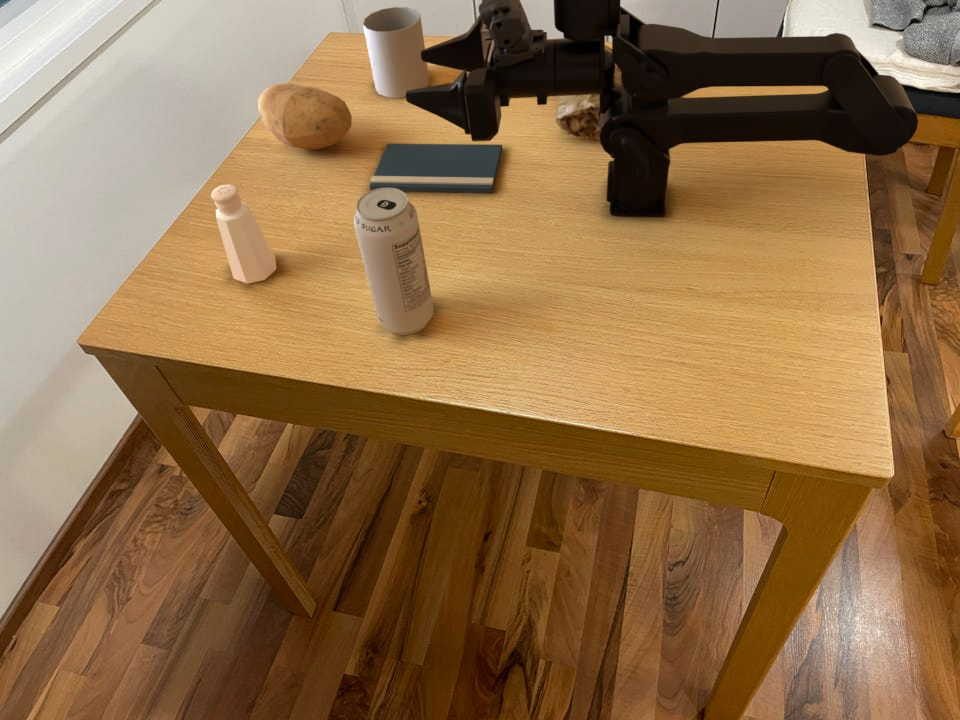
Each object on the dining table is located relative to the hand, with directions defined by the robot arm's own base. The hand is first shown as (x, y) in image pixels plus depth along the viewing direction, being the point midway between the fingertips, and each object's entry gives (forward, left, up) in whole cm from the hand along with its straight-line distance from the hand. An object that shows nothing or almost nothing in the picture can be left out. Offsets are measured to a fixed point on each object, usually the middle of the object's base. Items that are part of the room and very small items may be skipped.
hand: (413, 75), depth 82 cm
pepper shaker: (+19, +14, -17) cm, 29 cm away
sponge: (-18, -23, -17) cm, 34 cm away
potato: (+20, -13, -17) cm, 29 cm away
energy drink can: (-1, +21, -17) cm, 27 cm away
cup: (+11, -30, -17) cm, 36 cm away
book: (+1, -7, -17) cm, 18 cm away
